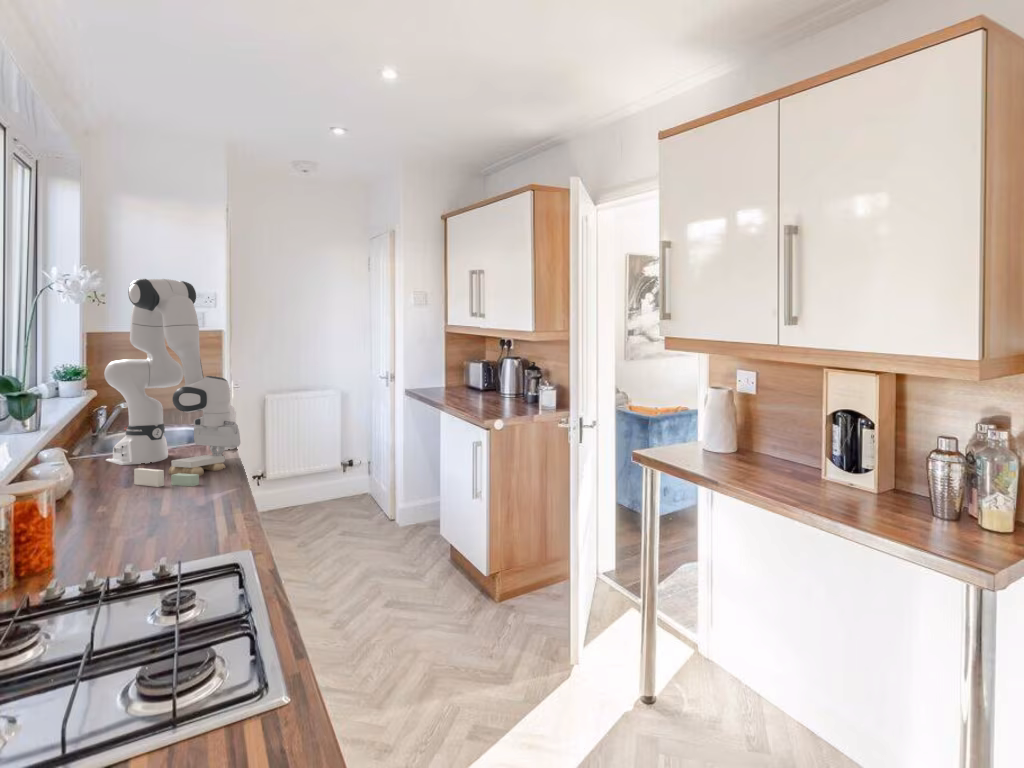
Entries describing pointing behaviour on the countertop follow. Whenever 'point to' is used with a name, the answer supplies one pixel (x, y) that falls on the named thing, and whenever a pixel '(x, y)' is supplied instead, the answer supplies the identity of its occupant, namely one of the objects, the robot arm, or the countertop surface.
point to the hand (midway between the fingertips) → (217, 458)
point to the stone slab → (198, 461)
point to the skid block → (185, 479)
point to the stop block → (149, 477)
